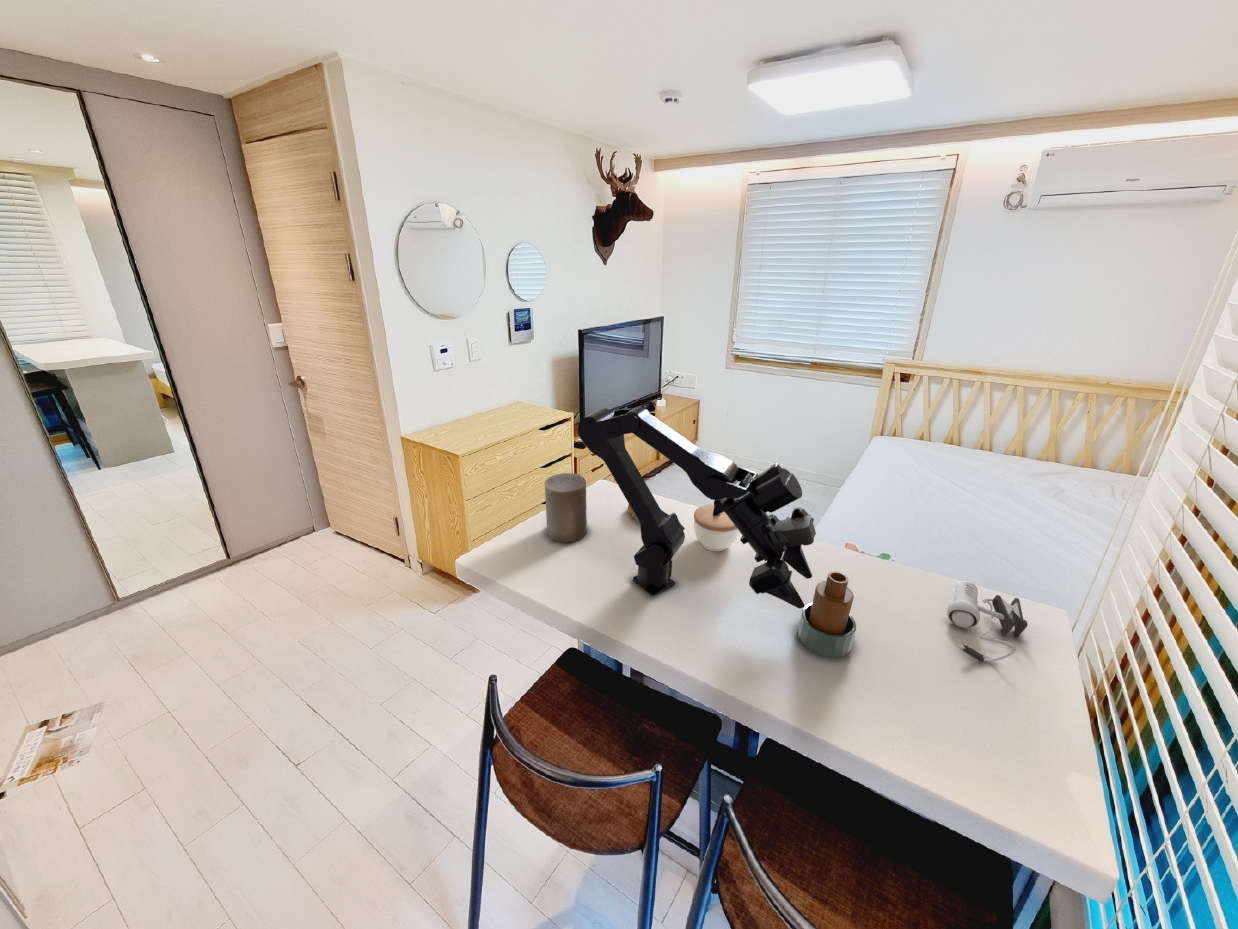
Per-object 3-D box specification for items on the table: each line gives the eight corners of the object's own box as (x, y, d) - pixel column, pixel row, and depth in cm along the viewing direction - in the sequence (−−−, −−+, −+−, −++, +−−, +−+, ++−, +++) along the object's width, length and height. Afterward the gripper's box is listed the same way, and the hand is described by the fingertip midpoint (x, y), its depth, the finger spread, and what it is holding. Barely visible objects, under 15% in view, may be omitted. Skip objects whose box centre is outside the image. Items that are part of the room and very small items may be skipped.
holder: (831, 666, 85) (837, 645, 83) (787, 634, 92) (791, 614, 90) (861, 643, 90) (866, 623, 88) (816, 614, 96) (820, 595, 95)
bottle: (816, 650, 87) (831, 589, 82) (800, 625, 93) (813, 567, 87) (848, 646, 88) (864, 587, 83) (830, 623, 94) (844, 565, 88)
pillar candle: (595, 531, 122) (595, 476, 116) (565, 548, 115) (564, 490, 109) (567, 517, 128) (566, 464, 122) (538, 532, 121) (535, 476, 115)
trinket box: (696, 528, 124) (699, 494, 120) (740, 537, 121) (745, 502, 117) (687, 551, 115) (690, 515, 111) (734, 561, 112) (739, 525, 108)
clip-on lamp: (1013, 689, 85) (1016, 612, 97) (1032, 669, 81) (1032, 591, 93) (936, 655, 90) (947, 586, 102) (950, 634, 86) (960, 565, 98)
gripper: (780, 527, 76) (842, 608, 77) (800, 480, 92) (852, 547, 92) (724, 556, 83) (781, 630, 83) (751, 507, 98) (799, 570, 98)
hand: (806, 591), depth 89 cm, fingers open, 9 cm apart
